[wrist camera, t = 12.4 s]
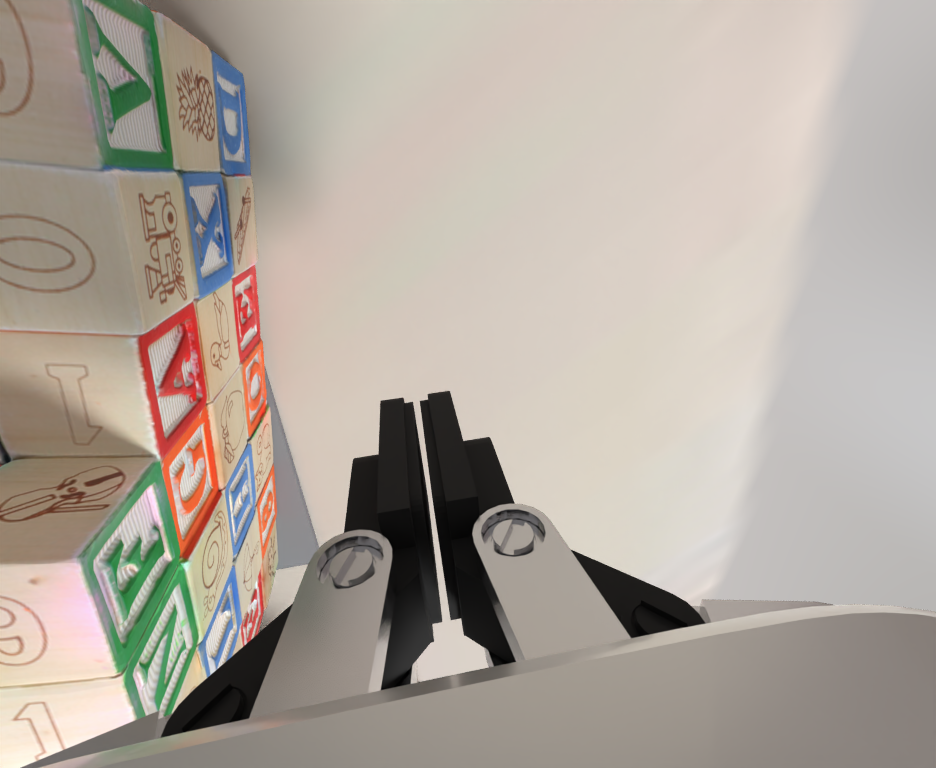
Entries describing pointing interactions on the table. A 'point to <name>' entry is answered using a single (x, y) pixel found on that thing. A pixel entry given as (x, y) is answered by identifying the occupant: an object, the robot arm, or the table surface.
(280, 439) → the mat
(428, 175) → the table surface
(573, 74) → the table surface
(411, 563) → the robot arm
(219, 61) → the stack of blocks
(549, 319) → the table surface
